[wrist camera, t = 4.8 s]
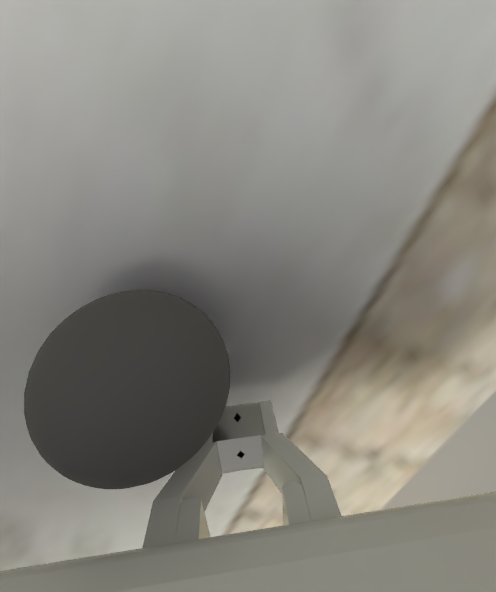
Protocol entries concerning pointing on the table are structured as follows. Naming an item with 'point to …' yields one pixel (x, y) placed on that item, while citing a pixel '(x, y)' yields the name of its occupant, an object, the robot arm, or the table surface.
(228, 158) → the table surface
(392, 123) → the table surface
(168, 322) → the black ball
